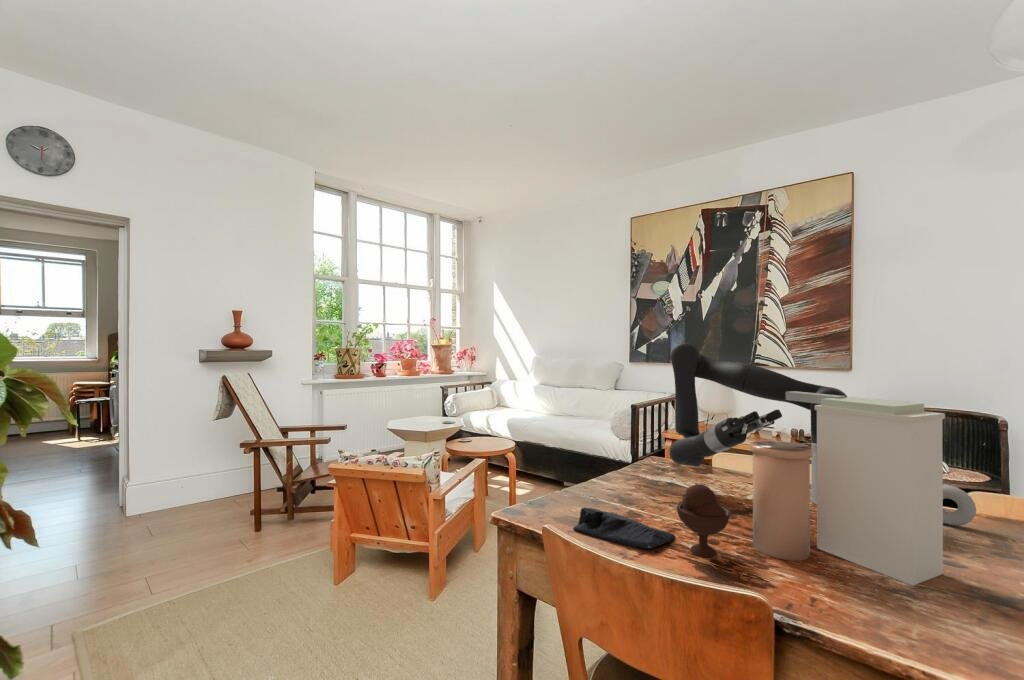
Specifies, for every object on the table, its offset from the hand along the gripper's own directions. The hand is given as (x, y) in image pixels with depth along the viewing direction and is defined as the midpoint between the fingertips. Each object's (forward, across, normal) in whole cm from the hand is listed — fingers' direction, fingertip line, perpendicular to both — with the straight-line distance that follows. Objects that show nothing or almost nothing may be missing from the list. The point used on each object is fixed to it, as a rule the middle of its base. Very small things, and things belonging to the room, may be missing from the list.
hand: (769, 413), depth 123 cm
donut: (+4, +40, +35) cm, 53 cm away
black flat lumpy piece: (-22, -40, +20) cm, 50 cm away
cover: (+18, 0, +5) cm, 19 cm away
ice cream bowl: (-8, -30, +28) cm, 42 cm away
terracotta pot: (-3, -14, +30) cm, 33 cm away
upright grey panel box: (+8, 0, +36) cm, 37 cm away
